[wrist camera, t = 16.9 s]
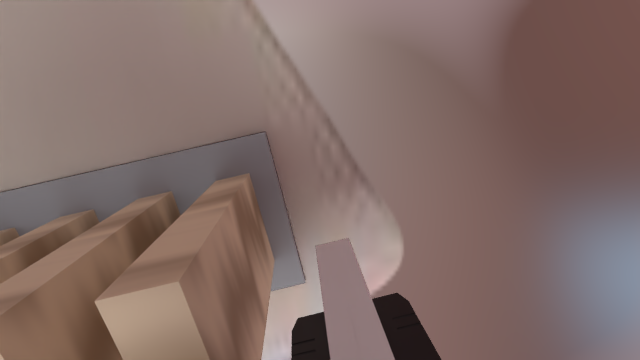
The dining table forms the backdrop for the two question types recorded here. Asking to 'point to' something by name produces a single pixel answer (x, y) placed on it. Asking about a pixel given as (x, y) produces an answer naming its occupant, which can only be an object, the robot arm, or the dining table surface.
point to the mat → (160, 177)
